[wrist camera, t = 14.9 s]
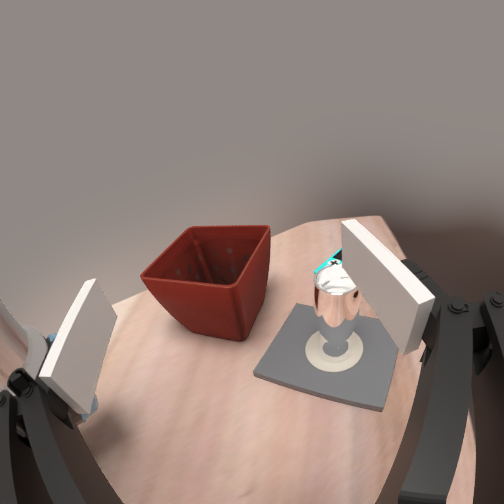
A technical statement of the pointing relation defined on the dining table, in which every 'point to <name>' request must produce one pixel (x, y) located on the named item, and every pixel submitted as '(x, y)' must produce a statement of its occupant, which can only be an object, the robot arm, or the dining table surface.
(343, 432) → the dining table surface
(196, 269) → the plant pot
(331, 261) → the handheld game console
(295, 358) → the serving board
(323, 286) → the beer glass
